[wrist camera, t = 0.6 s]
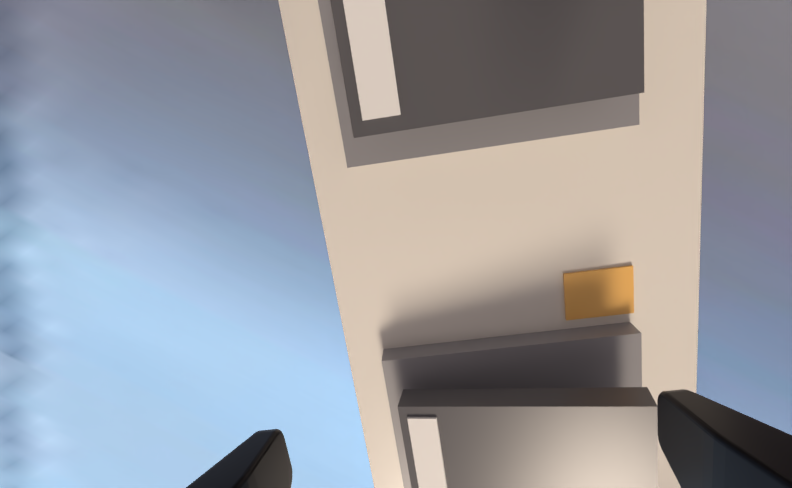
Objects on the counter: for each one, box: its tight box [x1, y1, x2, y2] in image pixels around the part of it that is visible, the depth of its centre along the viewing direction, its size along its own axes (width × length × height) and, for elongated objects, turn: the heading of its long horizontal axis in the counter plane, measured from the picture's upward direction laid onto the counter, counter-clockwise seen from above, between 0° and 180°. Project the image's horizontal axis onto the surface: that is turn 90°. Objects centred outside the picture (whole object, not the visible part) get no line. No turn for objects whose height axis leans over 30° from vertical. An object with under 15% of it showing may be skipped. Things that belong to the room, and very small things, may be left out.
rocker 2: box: [398, 387, 658, 488], centre depth 15 cm, size 8×4×1 cm, turn 99°
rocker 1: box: [330, 0, 644, 138], centre depth 12 cm, size 8×4×1 cm, turn 98°
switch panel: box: [278, 0, 706, 488], centre depth 16 cm, size 13×25×3 cm, turn 9°
